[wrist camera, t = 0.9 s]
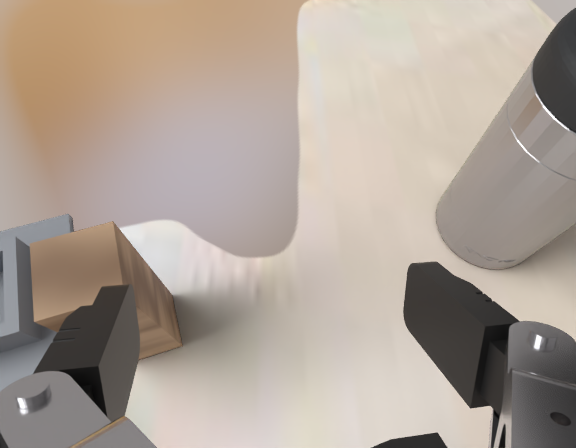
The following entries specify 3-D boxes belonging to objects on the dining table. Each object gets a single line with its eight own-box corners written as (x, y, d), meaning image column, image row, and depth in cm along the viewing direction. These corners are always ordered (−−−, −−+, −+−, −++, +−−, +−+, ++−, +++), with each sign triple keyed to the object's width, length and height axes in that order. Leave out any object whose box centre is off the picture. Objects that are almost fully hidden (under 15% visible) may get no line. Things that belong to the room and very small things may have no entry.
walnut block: (119, 310, 36) (29, 243, 23) (172, 294, 36) (112, 221, 24) (126, 363, 34) (34, 321, 21) (182, 346, 34) (124, 295, 22)
